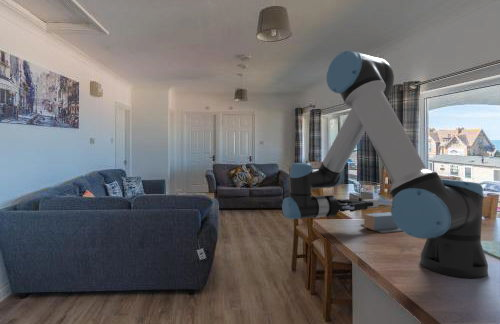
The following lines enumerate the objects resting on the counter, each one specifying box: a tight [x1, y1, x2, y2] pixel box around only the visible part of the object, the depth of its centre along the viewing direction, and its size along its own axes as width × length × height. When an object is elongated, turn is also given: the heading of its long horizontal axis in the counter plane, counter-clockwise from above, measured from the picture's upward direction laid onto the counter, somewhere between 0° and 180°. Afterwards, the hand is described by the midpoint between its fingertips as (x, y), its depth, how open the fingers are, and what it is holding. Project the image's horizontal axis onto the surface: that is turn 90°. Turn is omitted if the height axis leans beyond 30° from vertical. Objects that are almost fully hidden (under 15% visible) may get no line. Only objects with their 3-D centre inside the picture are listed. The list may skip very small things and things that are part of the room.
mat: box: [360, 223, 403, 234], centre depth 128 cm, size 15×12×1 cm
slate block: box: [363, 211, 399, 231], centre depth 127 cm, size 5×5×12 cm
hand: (377, 202), depth 126 cm, fingers closed
